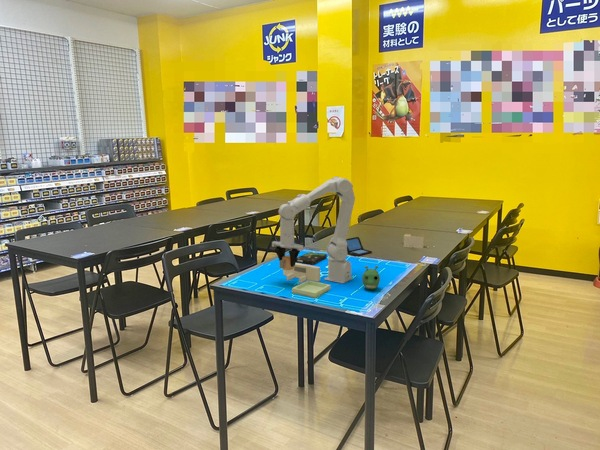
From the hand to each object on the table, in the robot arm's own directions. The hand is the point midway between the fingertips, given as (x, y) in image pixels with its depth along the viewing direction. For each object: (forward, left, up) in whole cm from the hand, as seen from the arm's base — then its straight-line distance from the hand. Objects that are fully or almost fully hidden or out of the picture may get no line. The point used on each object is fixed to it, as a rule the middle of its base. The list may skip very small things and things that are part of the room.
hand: (287, 265), depth 187 cm
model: (-22, -91, -9) cm, 94 cm away
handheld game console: (-2, -62, -9) cm, 63 cm away
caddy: (0, +1, -1) cm, 2 cm away
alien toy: (-32, -13, -8) cm, 36 cm away
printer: (0, -9, -8) cm, 12 cm away
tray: (-13, +2, -8) cm, 16 cm away
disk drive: (+11, -37, -9) cm, 40 cm away
